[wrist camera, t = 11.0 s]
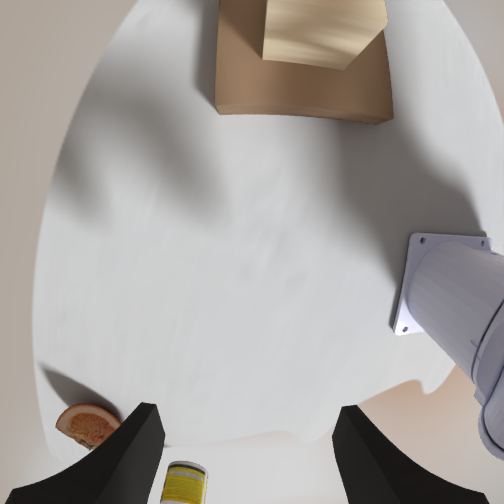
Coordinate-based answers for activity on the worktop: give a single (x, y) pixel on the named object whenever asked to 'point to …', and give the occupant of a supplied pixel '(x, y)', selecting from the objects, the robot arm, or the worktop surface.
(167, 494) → the supplement bottle
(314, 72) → the walnut block
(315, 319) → the worktop surface
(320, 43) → the birch block
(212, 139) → the worktop surface
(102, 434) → the fruit slice
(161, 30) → the worktop surface
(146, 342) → the worktop surface
